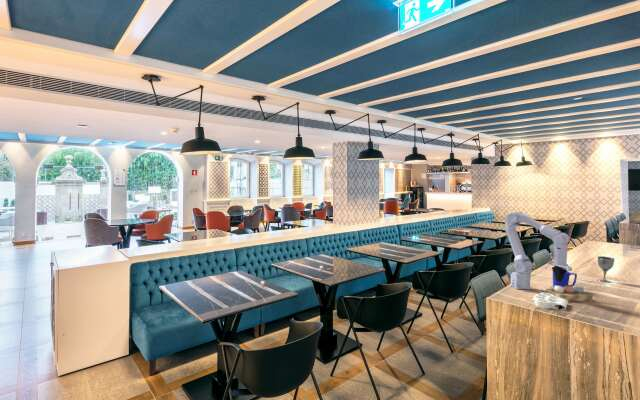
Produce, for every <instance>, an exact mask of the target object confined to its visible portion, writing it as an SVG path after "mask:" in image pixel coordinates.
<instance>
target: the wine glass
mask: <svg viewBox="0 0 640 400" xmlns="http://www.w3.org/2000/svg"><path fill="white" fill-rule="evenodd" d="M614 264H615V258H614V257H609V256H601V255H600V256H597V265H598V267H599V268H600V269H601V271H602V272H603V278H602V279H597V281H598V282H602V283H607V284H611V283H612V281H610V280H607V279H606V275H607V272H608V271H609V270H611V269H612V268H613V267H614Z"/></svg>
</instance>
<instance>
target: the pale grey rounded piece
mask: <svg viewBox="0 0 640 400" xmlns="http://www.w3.org/2000/svg"><path fill="white" fill-rule="evenodd" d="M553 289H554V292H556V293H564V287H562V286H555V287H554V286H553Z"/></svg>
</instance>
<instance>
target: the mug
mask: <svg viewBox="0 0 640 400" xmlns="http://www.w3.org/2000/svg"><path fill="white" fill-rule="evenodd" d="M571 275H574V279H573V282H572V284H569V282H570V276H571ZM577 277H578V274H577V273H574V272H571V271H567V272H566V273H565V274H564V276H563V279H562V281H556V278H555V274H554V272H553V271H552V286H553V288H554V287H555V286H562V287H564V286H571V287H574V286H576V283H577Z"/></svg>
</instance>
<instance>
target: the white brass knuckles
mask: <svg viewBox="0 0 640 400" xmlns="http://www.w3.org/2000/svg"><path fill="white" fill-rule="evenodd" d="M530 300H531V301H533V303H534V304H535V306H536V307H538V308H542V309H554V310H559V308H560V306H562V308H561V309H560V311H566V309H567V306H568V304H569V301H567V300H566V299H563V298H560V297H556V296H554V295H552V294H549V293H546V292H540V293H536V294H535V295H533V296H532V298H530Z"/></svg>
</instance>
